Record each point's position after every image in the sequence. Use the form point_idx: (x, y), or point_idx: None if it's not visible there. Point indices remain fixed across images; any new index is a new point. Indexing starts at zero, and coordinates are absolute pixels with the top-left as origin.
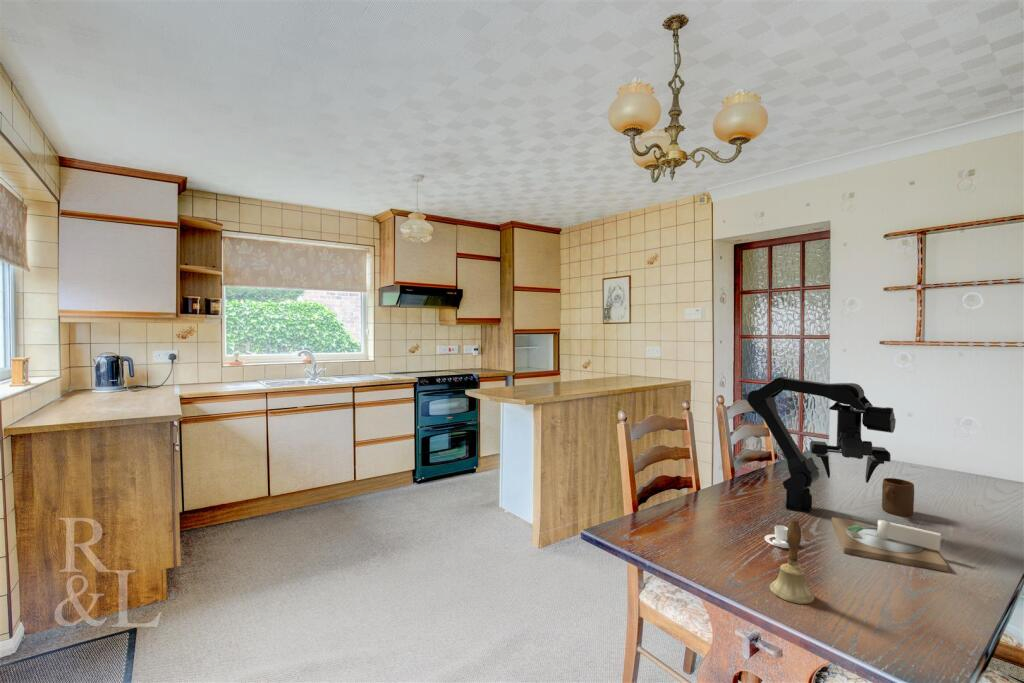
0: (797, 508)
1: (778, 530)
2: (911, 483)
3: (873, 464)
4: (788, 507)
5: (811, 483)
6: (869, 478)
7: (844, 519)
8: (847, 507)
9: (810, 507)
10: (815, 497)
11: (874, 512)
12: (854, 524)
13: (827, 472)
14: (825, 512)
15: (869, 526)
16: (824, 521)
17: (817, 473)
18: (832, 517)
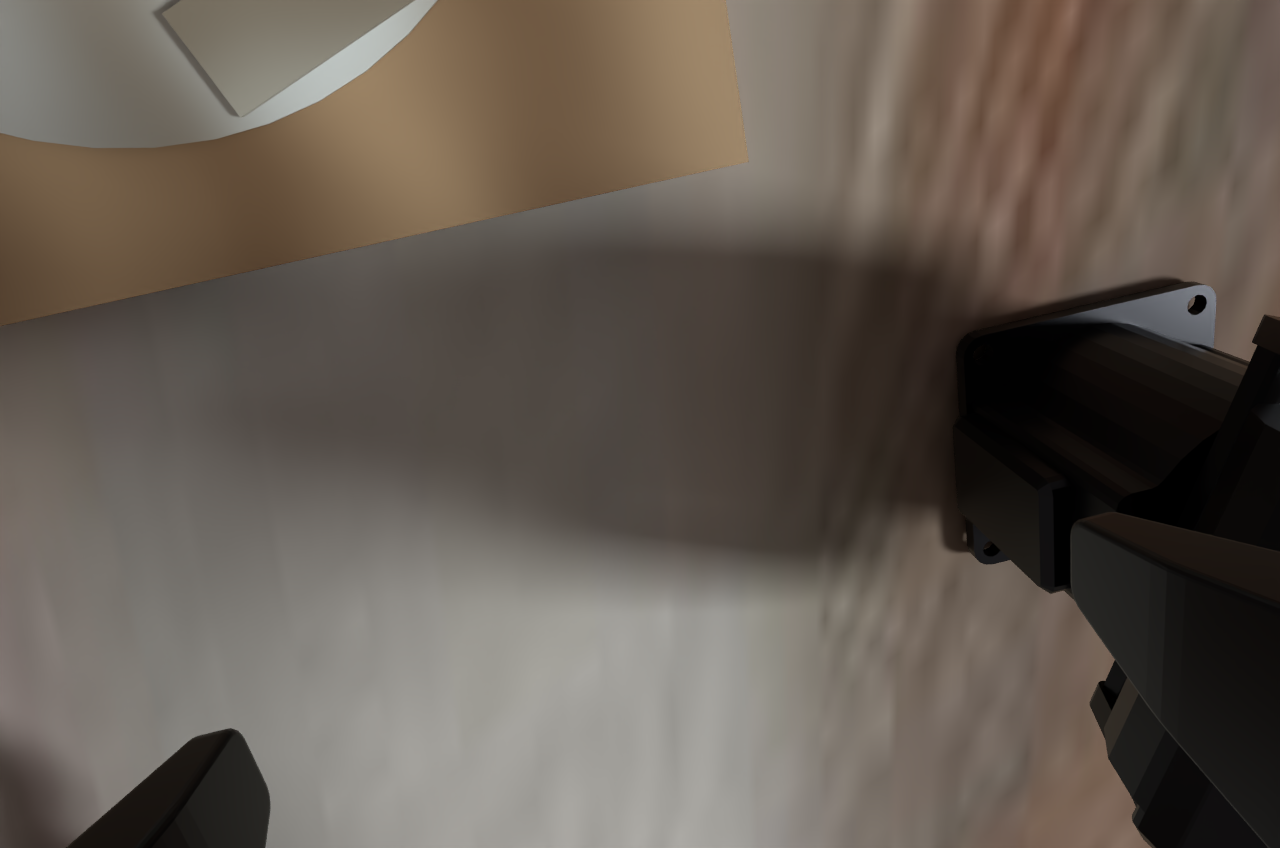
0: (1098, 324)
1: None
2: None
3: None
4: (1189, 297)
5: (1254, 442)
6: (99, 829)
7: (602, 180)
8: (610, 767)
9: (970, 418)
10: (892, 840)
11: (369, 797)
12: (471, 49)
13: (1258, 552)
14: (801, 469)
15: (276, 22)
16: (807, 135)
17: (1220, 814)
18: (740, 156)
